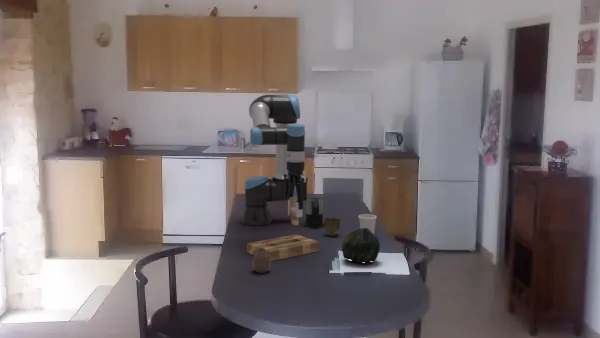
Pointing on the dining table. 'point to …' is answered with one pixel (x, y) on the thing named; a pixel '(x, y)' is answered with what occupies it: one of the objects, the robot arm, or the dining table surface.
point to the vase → (261, 261)
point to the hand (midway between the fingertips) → (295, 215)
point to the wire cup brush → (332, 225)
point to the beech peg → (293, 211)
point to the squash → (361, 246)
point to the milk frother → (314, 211)
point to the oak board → (285, 246)
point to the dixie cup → (367, 221)
